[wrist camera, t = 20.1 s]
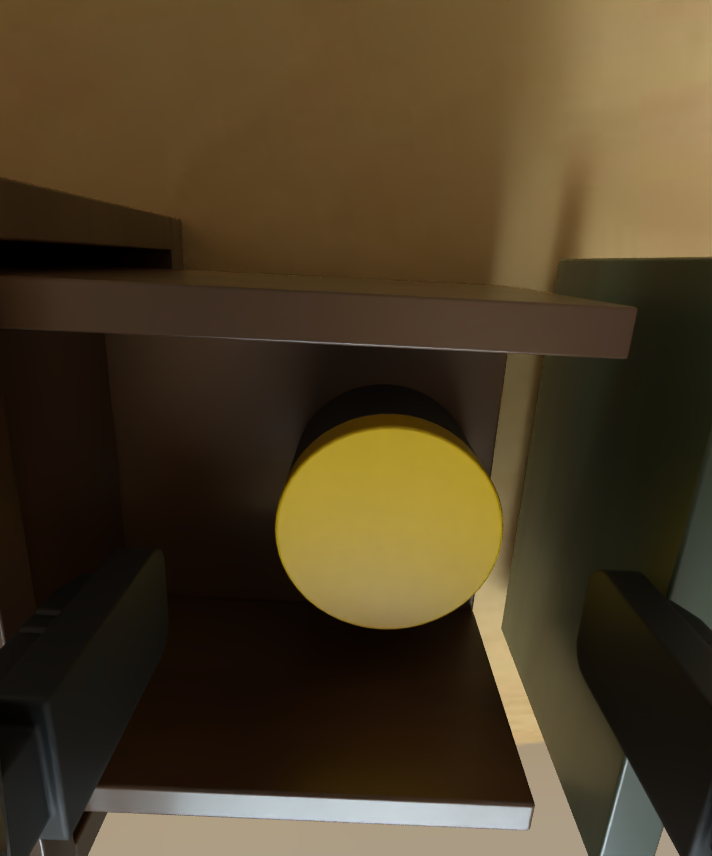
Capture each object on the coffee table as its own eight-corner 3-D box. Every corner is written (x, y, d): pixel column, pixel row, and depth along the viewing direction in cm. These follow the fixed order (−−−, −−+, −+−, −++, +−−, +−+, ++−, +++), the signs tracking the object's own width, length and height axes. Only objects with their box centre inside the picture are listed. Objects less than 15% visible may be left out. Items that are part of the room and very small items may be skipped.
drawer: (785, 270, 15) (1212, 279, 7) (681, 637, 19) (895, 887, 11) (87, 234, 15) (-193, 207, 7) (124, 611, 19) (-34, 847, 11)
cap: (459, 549, 17) (489, 635, 13) (294, 541, 16) (273, 626, 13) (479, 388, 15) (519, 431, 11) (296, 379, 15) (274, 419, 11)
